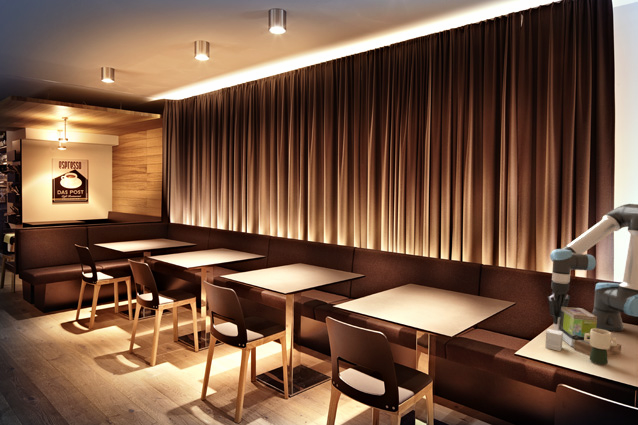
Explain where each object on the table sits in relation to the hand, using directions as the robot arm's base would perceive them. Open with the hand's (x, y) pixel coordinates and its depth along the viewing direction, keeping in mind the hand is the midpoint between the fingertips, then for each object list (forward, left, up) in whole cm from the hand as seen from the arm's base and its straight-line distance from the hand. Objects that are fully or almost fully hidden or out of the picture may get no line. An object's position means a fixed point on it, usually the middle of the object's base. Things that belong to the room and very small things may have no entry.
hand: (556, 330), depth 211 cm
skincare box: (+17, +12, -3) cm, 21 cm away
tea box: (0, +10, -3) cm, 11 cm away
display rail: (+2, +21, -3) cm, 22 cm away
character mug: (+14, +30, -3) cm, 33 cm away
